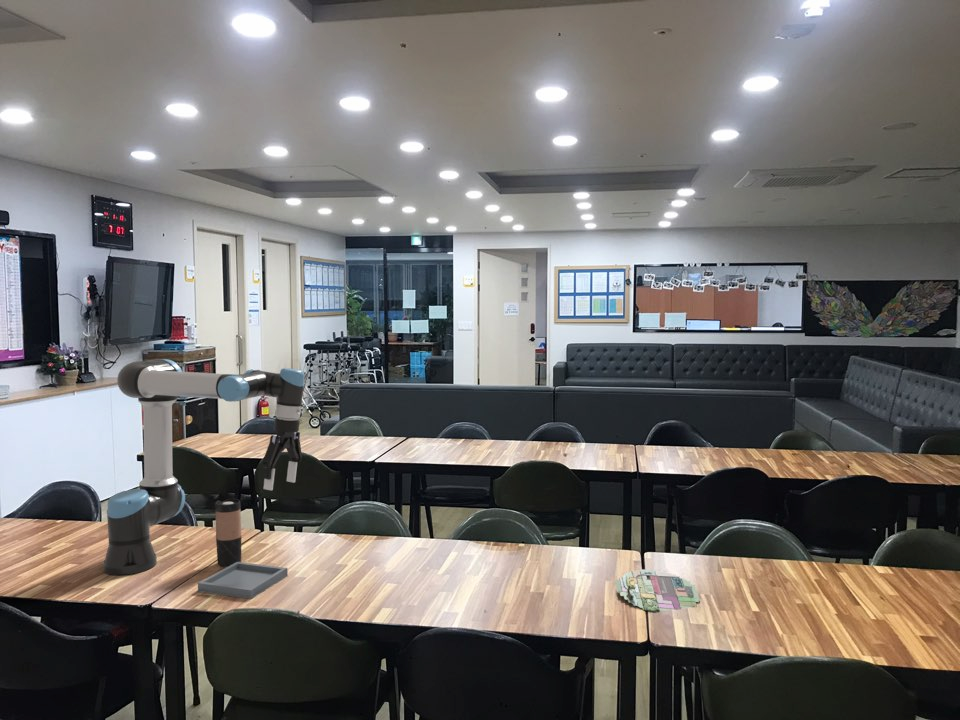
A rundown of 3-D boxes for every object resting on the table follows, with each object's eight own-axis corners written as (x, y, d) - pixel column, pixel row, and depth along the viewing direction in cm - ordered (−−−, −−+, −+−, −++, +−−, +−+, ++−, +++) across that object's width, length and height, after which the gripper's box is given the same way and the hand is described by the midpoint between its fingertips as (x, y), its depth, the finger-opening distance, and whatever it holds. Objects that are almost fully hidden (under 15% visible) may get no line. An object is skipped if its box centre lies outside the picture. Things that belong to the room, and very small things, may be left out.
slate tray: (197, 591, 203) (197, 582, 202) (237, 569, 220) (237, 561, 220) (251, 599, 197) (251, 590, 197) (287, 576, 214) (287, 567, 214)
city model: (636, 626, 184) (638, 605, 183) (597, 583, 206) (598, 564, 205) (718, 616, 191) (721, 596, 190) (672, 575, 213) (674, 557, 212)
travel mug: (237, 567, 221) (235, 505, 220) (212, 567, 222) (211, 505, 220) (245, 559, 229) (244, 498, 228) (222, 558, 229) (220, 498, 228)
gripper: (277, 423, 206) (269, 495, 207) (317, 416, 230) (309, 480, 231) (254, 420, 208) (246, 490, 209) (296, 413, 232) (289, 477, 233)
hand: (279, 485), depth 220 cm, fingers open, 13 cm apart
